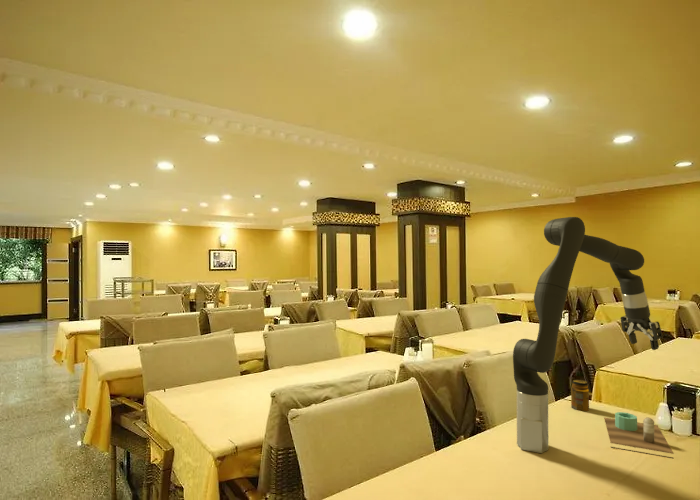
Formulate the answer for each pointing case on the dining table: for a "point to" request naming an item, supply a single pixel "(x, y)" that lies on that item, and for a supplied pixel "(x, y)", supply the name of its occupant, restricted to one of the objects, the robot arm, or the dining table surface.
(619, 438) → the board
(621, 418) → the ring
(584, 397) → the condiment
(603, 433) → the dining table surface
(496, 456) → the dining table surface
